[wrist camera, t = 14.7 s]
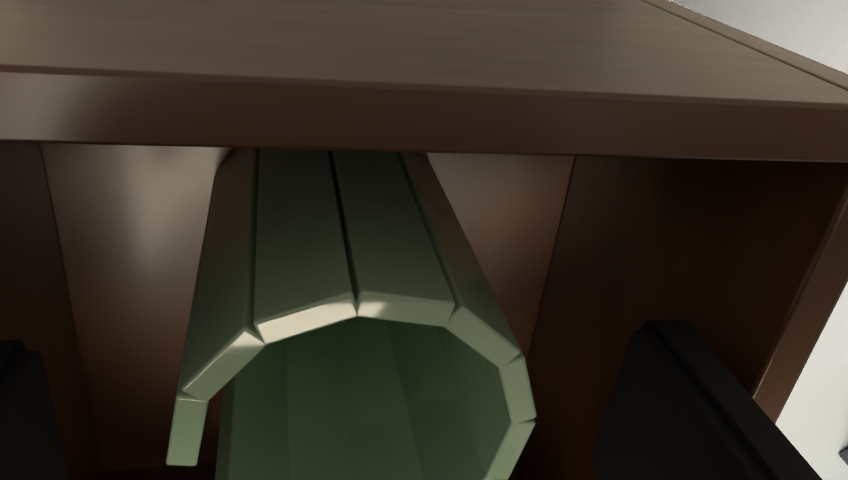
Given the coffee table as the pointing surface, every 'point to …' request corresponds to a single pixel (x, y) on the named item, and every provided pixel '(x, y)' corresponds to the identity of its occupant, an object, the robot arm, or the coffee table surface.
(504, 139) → the chest
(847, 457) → the slate grey cube
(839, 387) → the coffee table surface
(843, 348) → the coffee table surface
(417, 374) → the cup
